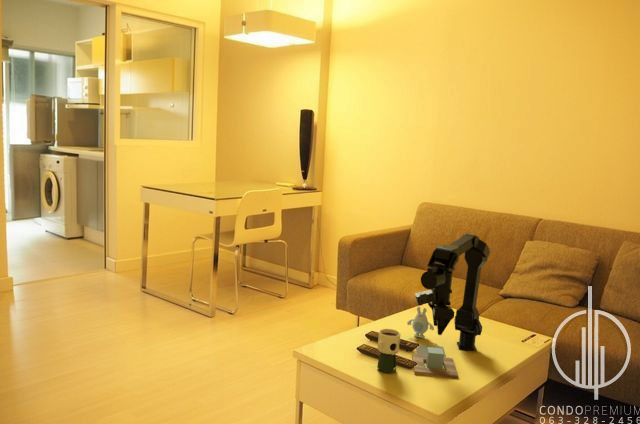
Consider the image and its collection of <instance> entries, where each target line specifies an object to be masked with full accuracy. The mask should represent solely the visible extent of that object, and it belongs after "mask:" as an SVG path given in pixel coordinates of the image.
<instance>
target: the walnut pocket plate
mask: <svg viewBox="0 0 640 424" xmlns="http://www.w3.org/2000/svg"><path fill="white" fill-rule="evenodd" d="M426 357H427V356H426V355H417V353H416V354H415V353H414V354H413V353H412V354H411V359H412V360H413V361H414V362H416V363H417V366H414V368H413V373H414V375H421V376H432V377H441V378H442V377H443V378H449V379H450V378H452V379H459V374H458V371H457V367H456V364H455V361H454V358H453V357H447V356H446V357H444V359H443V367H444V369H433V368H427V367H426V366H425V363H426ZM413 361H412V362H413Z"/></svg>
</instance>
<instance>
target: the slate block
mask: <svg viewBox="0 0 640 424" xmlns="http://www.w3.org/2000/svg"><path fill="white" fill-rule="evenodd" d="M443 359H444V353H443V349H442V348H433V347H427V357H426V362H425V365H426V366H425V368H433V369H443V367H444V365H443ZM443 370H444V369H443Z"/></svg>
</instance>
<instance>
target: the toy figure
mask: <svg viewBox="0 0 640 424" xmlns="http://www.w3.org/2000/svg"><path fill="white" fill-rule="evenodd" d="M416 310H417V311H416V312H417V313H416V315H415V316H414V318H413V319H410V320H408V321H407V323H406V324H407V326H412V329H413V331H414V332H415V333H414V334H413V337H414V338H420V339H425V335H424V334H425V333H426V332H427V331H428V329H429V330H431V331H434V330H435V328H434V327H435V326H434V325H433V324H432V323H430V322H429V321H428V317H427V315H426V314H427V308H426V307H423V309H422V311H421V307H420V306H417V308H416Z"/></svg>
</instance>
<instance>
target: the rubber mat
mask: <svg viewBox="0 0 640 424" xmlns="http://www.w3.org/2000/svg"><path fill="white" fill-rule="evenodd" d="M427 347H433V348H442V349H443V353H444V357H447V356H446V355H447V354H446V353H445V348H444V346H440V345H429V344H428V345H427V344H419V347H418V348H416V347H415V350H416V355H426V356H427Z"/></svg>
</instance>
